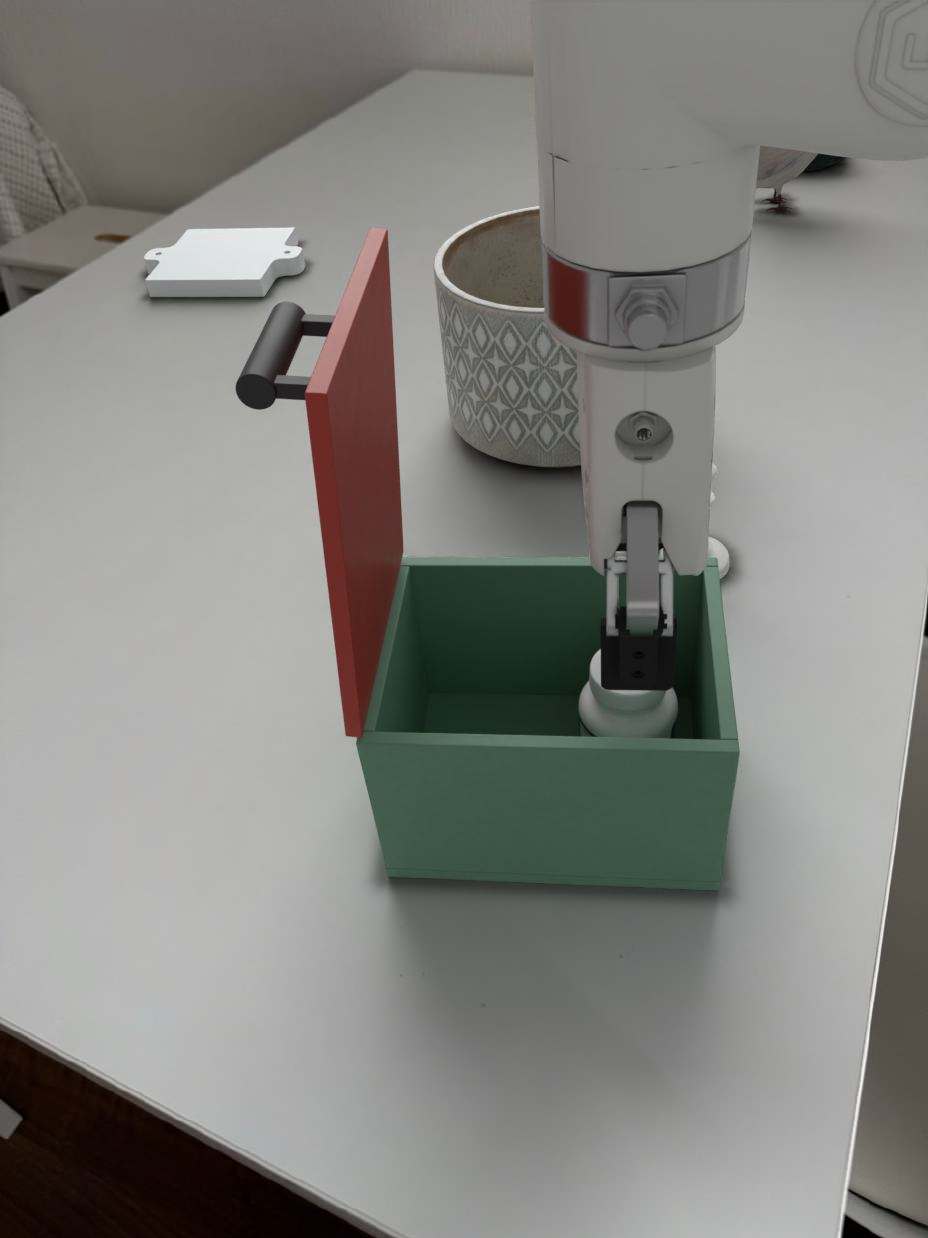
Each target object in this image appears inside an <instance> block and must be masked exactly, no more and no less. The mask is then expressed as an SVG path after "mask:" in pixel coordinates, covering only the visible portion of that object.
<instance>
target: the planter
mask: <svg viewBox="0 0 928 1238" xmlns="http://www.w3.org/2000/svg"><path fill="white" fill-rule="evenodd" d="M433 278H434V287H435V295H436V305H437V313H438V322H439V324H438V325H439V330H440V340H441V341H440V342H441V350H442V359H443V369H444V377H445V378H444V379H445V384H446V385H445V389H446V395H447V406H448V414H449V417H450V422H451V424H452V426H453V428H454V429H455V431H456V433H457V434H458V435H459V436H460V437H461V438H462V439H463V440H464V442H466V443H467V444H469V445H470V446H471V447H473V448H474V449H476V450H477V451H480V452H481V453H484V454H486V455H488V456H491V457H493V458H495V459H499V460H502V461H506V462H510V463H513V464H514V463H515V464H517V465H518V464H519V465H525V466H531V467H539V468H557V469H559V468H573V467H581V454H580V438H579V414H578V388H577V351H575V350H573V349H570V348H568V347H567V346H565V345H563V344H562V343H560V342H559V341H558V340H556V339H555V338H554V337H553V336H552V334H551V333H550V332H549V331H548V329H547V327H546V324H545V321H544V302H543V279H542V257H541V229H540V205H537V206H529V207H523V208H518V209H513V210H508V211H504V212H501V213H497V214H493V215H491V216H487V217H486V218H483V219H480V220H477V221H475V222H473V223H471V224H469V225H467V226H465V227H463V228H462V229H460V230H458V231H457V232H455V233H454V234H452V235H451V236H450V237H449V238H448V239H446V240H445V242H443V244H442V245H441V246H440V247H439V249H438V250H437V252H436V254H435V256H434V259H433Z"/></svg>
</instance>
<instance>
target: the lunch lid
mask: <svg viewBox="0 0 928 1238" xmlns="http://www.w3.org/2000/svg"><path fill="white" fill-rule="evenodd" d="M389 249H390V248H389V231H388V228H379V227H377V228H376V227H370V228H369V230H368V233H367V235H366V237H365V240H364V242H363V244H362V247H361V250H360V252H359V255H358V258H357V259H356V263H355V265H354V267H353V270H352V272H351V275H350V278H349V279H348V283H347V285H346V288H345V290H344V292H343V295H342V298H341V300H340V303H339V305H338V308H337V311H336V313H335V314H334V315H331V314H330V315H328V314H313V313H312V314H311V313H306V312H305V310H304V309H303V308H302V306H300V305H299V304H297V303H295V302H293V301H282V302H279V303H277V304H276V305H274V306H273V308H272V309H271V312H270V313H269V315H268V317H267V319H266V321H265V324H264V326H263V327H262V330H261V332H260V333H259V335H258V338H257V340H256V342H255V344H254V346H253V348H252V350H251V352H250V354H249V356H248V358H247V360H246V362H245V364H244V366H243V368H242V370H241V373H240V374H239V377H238V378H237V380H236V382H235V394H236V396H237V399H239V401H240V402H241V403H242V404H243V405H245V406H246V407H248V408H250V409H252V410H257V411H258V410H259V411H261V410H262V411H263V410H266V409H268V408H270V407H271V406H273V405H274V404H275V402H276V399H277V400H291V401H292V400H295V401H305V409H306V416H307V426H308V434H309V442H310V443H309V444H310V451H311V458H312V459H311V460H312V468H313V474H314V484H315V485H314V486H315V493H316V502H317V509H318V518H319V525H320V535H321V542H322V551H323V559H324V568H325V576H326V577H325V578H326V584H327V593H328V602H329V608H330V610H329V611H330V619H331V626H332V634H333V642H334V650H335V652H334V653H335V660H336V667H337V676H338V684H339V692H340V701H341V709H342V718H343V725H344V733H345V737H347V738H349V737H350V738H357V737H362V736H363V731H364V727H365V722H366V718H367V713H368V709H369V704H370V700H371V695H372V691H373V686H374V682H375V677H376V673H377V668H378V664H379V659H380V655H381V650H382V646H383V641H384V637H385V632H386V628H387V623H388V619H389V614H390V610H391V605H392V601H393V596H394V592H395V587H396V583H397V578H398V574H399V569H400V565H401V560H402V557H404V556H403V555H404V551H405V549H404V548H405V547H404V531H403V511H402V489H401V488H402V487H401V472H400V470H401V469H400V451H399V450H400V449H399V432H398V430H399V429H398V409H397V390H396V389H397V388H396V370H395V353H394V352H395V350H394V330H393V329H394V328H393V311H392V310H393V307H392V290H391V270H390V251H389ZM303 337H320V338H321V337H322V338H325V340H324V343H323V345H322V349H321V350H320V353H319V356H318V358H317V360H316V363H315V366H314V368H313V371H312V374H311V375H310V376H306V375H305V376H303V375H287V374H288V371H289V369H290V368H291V365H292V362H293V360H294V358H295V355H296V354H297V351H298V349H299V346H300V344H301V342H302V339H303Z"/></svg>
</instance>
